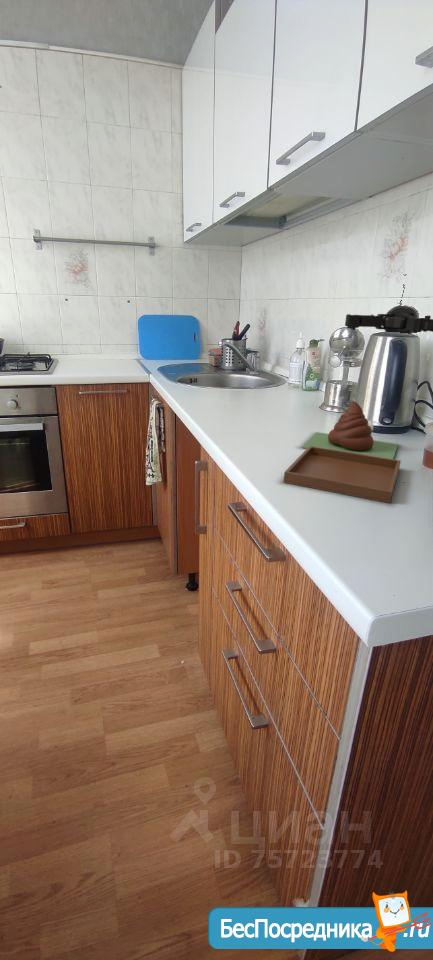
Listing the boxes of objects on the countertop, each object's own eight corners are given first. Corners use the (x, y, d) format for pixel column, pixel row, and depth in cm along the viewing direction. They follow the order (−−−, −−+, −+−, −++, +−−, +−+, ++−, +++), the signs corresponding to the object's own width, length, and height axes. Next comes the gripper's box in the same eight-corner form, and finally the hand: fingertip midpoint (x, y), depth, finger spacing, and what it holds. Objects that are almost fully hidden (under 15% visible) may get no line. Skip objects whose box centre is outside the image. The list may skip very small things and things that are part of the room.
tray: (398, 470, 87) (400, 460, 86) (389, 503, 72) (391, 492, 72) (308, 454, 93) (309, 445, 93) (283, 482, 79) (284, 472, 78)
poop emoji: (318, 441, 101) (324, 399, 98) (345, 436, 106) (351, 395, 102) (355, 454, 94) (362, 409, 90) (382, 448, 98) (389, 404, 95)
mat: (397, 445, 102) (397, 444, 102) (391, 462, 91) (392, 461, 91) (316, 433, 109) (316, 432, 109) (302, 447, 98) (302, 446, 98)
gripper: (453, 341, 111) (441, 347, 94) (350, 333, 123) (322, 337, 106) (460, 307, 108) (449, 307, 91) (354, 303, 120) (326, 302, 103)
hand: (381, 323), depth 98 cm, fingers open, 13 cm apart
